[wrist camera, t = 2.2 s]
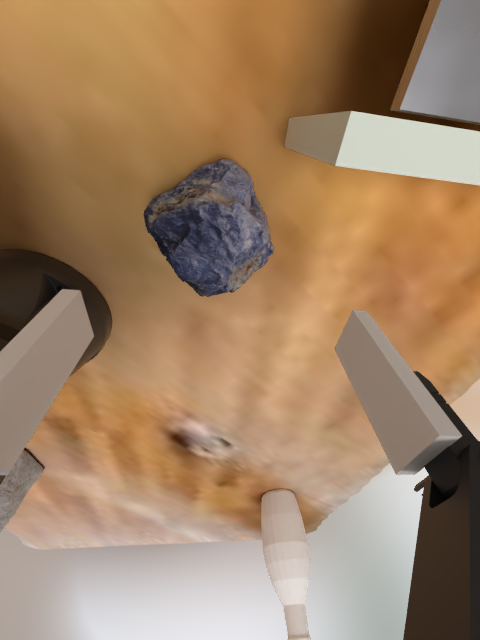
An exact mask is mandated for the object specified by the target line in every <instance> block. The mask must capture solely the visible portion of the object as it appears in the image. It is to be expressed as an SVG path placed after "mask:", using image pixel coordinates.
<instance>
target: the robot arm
mask: <svg viewBox="0 0 480 640" xmlns="http://www.w3.org/2000/svg"><path fill="white" fill-rule="evenodd" d="M111 328H112V318H111V313H110V310H109V307H108V305H107V303H106V301H105V300H104V298H103V297H102V295H101V294H100V292H99V291H98V290H97V289H96V288H95V287H94V286H93V284H92V283H90V282H89V281H88V280H87V279H86V278H85V277H84V276H82V275H81V274H80V273H78V272H77V271H75V270H74V269H72V268H71V267H69V266H67V265H65V264H63V263H62V262H59V261H57V260H55V259H53V258H50V257H47V256H45V255H41V254H38V253H34V252H29V251H23V250H0V485H1V483H2V482H3V480H4V478H5V477H6V475H8V474H9V472H10V471H11V469H12V468H13V466H14V464H15V463H16V461H17V460H18V458H19V456H20V455H21V453H22V451H23V450H24V448H25V447H26V445H27V443H28V442H29V440H30V439H31V437H32V435H33V434H34V432H35V431H36V429H37V427H38V426H39V424H40V422H41V421H42V419H43V418H44V416H45V414H46V413H47V411H48V410H49V408H50V406H51V405H52V403H53V402H54V400H55V398H56V397H57V395H58V393H59V392H60V390H61V389H62V387H63V385H64V384H65V382H66V381H67V379H68V378H69V377H70V376H71V375H73V374H74V373H75V372H76V371H77V370H78V369H80V368H81V367H82V366H83V365H84V364H85V363H87V362H89V361H90V360H91V359H93V358H94V357H95V356H96V355H97V354H98V353H99V352H100V351H101V350H102V348H103V346H104V345H105V343H106V341H107V339H108V337H109V335H110V332H111ZM335 351H336V353H337V355H338V357H339V359H340V361H341V363H342V365H343V367H344V369H345V371H346V374H347V376H348V378H349V380H350V382H351V384H352V386H353V388H354V390H355V392H356V394H357V396H358V398H359V400H360V402H361V404H362V406H363V408H364V410H365V412H366V414H367V416H368V418H369V420H370V422H371V424H372V427H373V429H374V431H375V433H376V435H377V437H378V439H379V441H380V443H381V445H382V447H383V449H384V451H385V453H386V455H387V457H388V459H389V461H390V463H391V465H392V467H393V469H394V471H395V473H396V475H397V474H398V475H399V474H416V473H418V472H419V471H420V470H421V469H422V468H424V467H425V469H426V470H427V472H428V473H429V476H427V477H426V478H425V479H424V480H422V481H421V482H420V483H418V484H417V485H416V486H415V488H414V490H415V491H416V492H417V491H419V490H420V489H421V488H423V487H424V491H423V494H422V496H423V499H422V506H421V513H420V521H419V528H418V536H417V543H416V550H415V558H414V565H413V573H412V580H411V587H410V594H409V602H408V609H407V617H406V624H405V631H404V639H403V640H480V441H478V440H477V439H476V438H475V437H474V436H473V434H472V433H471V432H470V431H469V430H468V428H467V427H466V426H465V424H464V423H463V422H462V421H461V419H460V418H459V417H458V416H457V415H456V413H455V412H454V411H453V410H452V408H451V407H450V406H449V404H446V401H445V399H444V398H443V397H442V396H441V394H439V392H438V391H437V389H436V388H435V387H434V386H433V384H432V383H431V382H430V381H429V380H428V379H427V378H425V377H424V376H423V375H422V374H420V373H419V372H417V371H412V369H411V368H410V367H409V365H408V364H407V363H406V361H405V360H404V359H403V358H402V356H401V355H400V354H399V352H398V351H397V350H396V348H395V347H394V346H393V344H392V343H391V342H390V341H389V339H388V338H387V337H386V335H385V334H384V333H383V331H382V330H381V329H380V327H379V326H378V325H377V324H376V322H375V321H374V320H373V318H372V317H371V316H370V314H369V313H368V312H367V311H361V310H352V312H351V315H350V317H349V319H348V321H347V323H346V325H345V328H344V330H343V332H342V334H341V336H340V338H339V340H338V343H337V345H336V347H335Z"/></svg>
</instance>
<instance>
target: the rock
mask: <svg viewBox="0 0 480 640" xmlns="http://www.w3.org/2000/svg"><path fill="white" fill-rule="evenodd" d="M253 185H254V182H253V180H252V178H251V176H250V175H249V174H248V173H247V171H246V170H245V169H243V168H241V167H240V166H239V165H238V164H237V163H236V162H234V161H232V160H230V159H221V160H219V161H218V162H216V163H212V164H208V165H205V166H203V167H201V168H199V169H198V170H196V171H194V172H193V173H192V174H190V175H189V176H188V177H187V178H186V179H185V180H184V181H182V182H180V183H179V184H178V185H177V186H175V187H174V188H173V189H171V190H169V191H166V192H165V193H163V194H160V195H159V196H157V197H155V198H154V199H153V200H152V201H151V202H150V204H149V205H148V206H147V208H146V210H145V211H144V219H145V224H146V228H147V230H148V233H150V234H151V235H152V236H153V237H155V238H154V239H155V241H156V242H157V244H158V247H159V248H160V251H161V253H162V254H163V255H164V256H166V257H167V258H166V260H167V261H168V262H169V263H170V265H171V266H172V269H173V268H174V271H175V273H176V274H177V276H178V277H179V278H180V279H181V280H182V281H183V282H184V281H185V282H186V283H188V284H189V285H190V286H191V287H192V288H193V289H194V290H195V291H196V293H198V294H199V295H200V296H207V297H209V296H212V295H218V294H221V293H226V292H231V293H232V292H235V291H236V290H237V289H238V288H240V286H241V285H242V284H244V283H245V282H246V281H247V280H248V279H249V277H251V276H252V274H253V273H254V272H255V271H257V270H258V269H260V268H261V267H263V266H264V265H265V264H266V262H267V261H268V257H269V256H270V255H271V254H273V252H274V246H273V244H272V242H271V241H270V240H271V238H270V234H269V227H268V223H267V218H266V215H265V213H264V212H263V211H262V208H261V207H260V203H259V202H258V200H257V198H256V196H255V192H254V190H253Z"/></svg>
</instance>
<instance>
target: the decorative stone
mask: <svg viewBox="0 0 480 640" xmlns="http://www.w3.org/2000/svg"><path fill="white" fill-rule="evenodd" d="M43 471H44V469H43V467H42V466H41V465H40V464H39V463H38V462H37V461H36V460H35V459H34V458H33V457H32V456H31V455H30V454H29V453H28V452H27V451H25V450H23V451H22V453H21V455H20V456H19V458H18V460H17V461H16V463H15V464H14V466H13V468H12V469H11V471H10V472H9V474H8V475H6V477H5V478H4V480H3V482H2V483H1V485H0V532H1V531H2V529H3V528H4V527H5V526H6V524H7V523H8V522H9V520H10V519H11V518H12V516H13V515H14V514H15V512H16V510H17V509H18V507H19V505H20V504H21V502H22V500H23V498H24V497H25V495H26V494H27V492H28V490H29V489H30V488H31V486H32V485H33V484H34V483H35V481H36V480H37V479H38V478H39V477H40V476H41V474H42V473H43Z"/></svg>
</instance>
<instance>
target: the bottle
mask: <svg viewBox="0 0 480 640" xmlns="http://www.w3.org/2000/svg"><path fill="white" fill-rule="evenodd" d="M261 525H262V542H263V552H264V557H265V562H266V566H267V570H268V573H269V576H270V579H271V582H272V584H273V586H274V588H275V591H276V593H277V594H278V597H279V598H280V600H281V602H282V604H283V606H284V612H285V619H286V624H287V630H288V640H311V639H310V636H309V632H308V625H307V617H306V610H305V600H306V594H307V589H308V583H309V571H310V559H309V548H308V542H307V537H306V533H305V529H304V525H303V521H302V516H301V513H300V510H299V507H298V504H297V501H296V498H295V495H294V494H293V493H292V491H290V490H286V489H275V490H271V491H268V492H266V493H264V495H263V496H262V507H261Z"/></svg>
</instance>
